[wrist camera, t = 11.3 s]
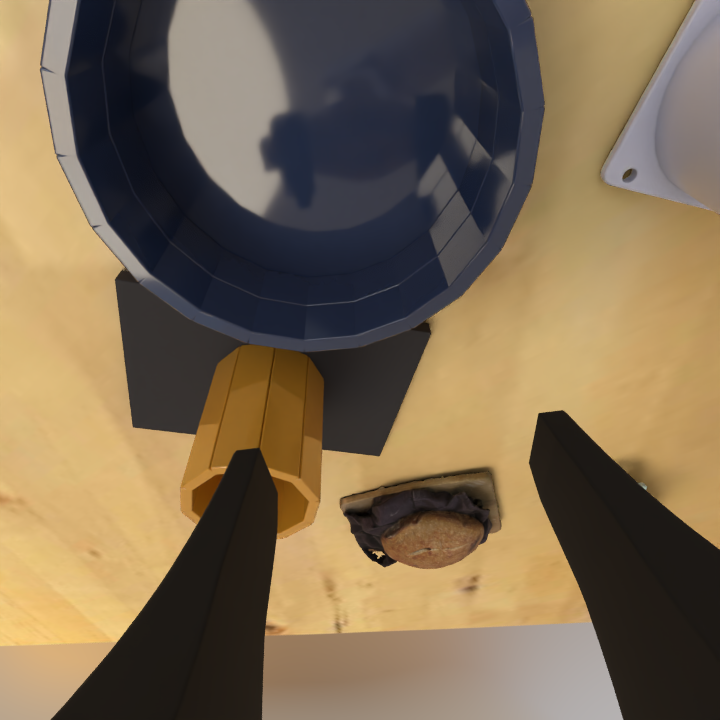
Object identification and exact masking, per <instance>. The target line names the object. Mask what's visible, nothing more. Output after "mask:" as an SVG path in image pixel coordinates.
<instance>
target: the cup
mask: <svg viewBox="0 0 720 720" xmlns="http://www.w3.org/2000/svg"><path fill="white" fill-rule="evenodd" d="M323 398H324V379H323V377H322V376H321V374H320V373H319V371H318V369H317V368H316V366H315V365H314V363H313V362H312V360H311V359H310V357H308V356H307V355H305V354H303V353H300V352H298V351H291V350H285V349H278V348H272V347H265V346H259V345H252V344H251V345H242V346H241V347H240V346H239V347H238V348H236V349H235V350H234V351H233V352H231V353H230V354H229V355H228V356H226V357H225V358H224V359H223V360H221V361H220V362H219V363H218V364H217V366H216V369H215V373H214V376H213V379H212V383H211V386H210V389H209V393H208V396H207V400H206V403H205V406H204V410H203V413H202V416H201V420H200V423H199V426H198V430H197V433H196V436H195V440H194V443H193V446H192V450H191V453H190V457H189V460H188V463H187V467H186V470H185V473H184V477H183V480H182V483H181V487H180V501H181V511H182V513H183V514H184V515H185V516H187V517H188V518H189V519H190V520H192V521H193V522H194V523H196V524H198V522H199V520H200V518H201V517H202V515H203V513H204V511H205V509H206V508H207V506H208V504H209V502H210V500H211V498H212V496H213V494H214V492H215V491H216V489H217V487H218V485H219V483H220V481H221V479H222V477H223V475H224V473H225V471H226V469H227V466H228V464H229V462H230V460H231V458H232V456H233V454H234V453H235V452H236V450H243V449H252V448H260V450H261V452H262V455H263V457H264V460H265V462H266V465H267V467H268V469H269V472H270V474H271V477H272V479H273V482H274V484H275V487H276V489H277V492H278V527H277V539H283V537H284V538H286V537H288V536H290V535H292V534H294V533H296V532H298V531H300V530H302V529H304V528H306V527H308V526H310V525H312V523H313V522H314V520H315V517H316V513H317V510H318V507H319V504H320V496H321V463H322V431H323Z"/></svg>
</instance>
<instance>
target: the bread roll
mask: <svg viewBox="0 0 720 720" xmlns="http://www.w3.org/2000/svg"><path fill="white" fill-rule="evenodd" d="M340 508H341V510H342V511H343V514H344V516H346V517H347V519H348V521H349V522H350V525H351V533H352V534H354V535H355V538H356V541H357V542H358V544H359V546H360V547H361V548H362V550H363V551H364V553H365V554H366V555H367V556H368V557H369V558H370V559H371V560H372V561H374V562H375V561H376V562H377V563H378V564H380V565H382V566H383V567H387V566H390V565H392V564H394V563H396V562H397V561H399V562H401V563H404V564H406V565H409V566H411V567H416V568H422V569H436V568H441V567H445V566H448V565H451V564H454V563H456V562H458V561H461V560H462V559H463V558H465V557H466V556H468V555H469V554H470V553H472V552H473V551H474V550H475V549H476V548H477V547H478V545H480V544H482V543H484V542H485V541H486V540H487V536H488V534H489V533H495V532H498V531H499V530H500V529H501V520H500V518H499V511H498V505H497V502H496V498H495V491H494V487H493V482H492V477H491V474H490V473H489V471H488V472H486V473H484V472H482V473H479V472H478V474H476V473H474V474H472V473H468V475H466V474H460V475H455V476H454V477H452V476H451V475H450V476H449V477H446V478H443V475H442V477H441V479H440V478H435V479H433V478H431V479H426V480H424V482H423V481H417V482H416V481H415V480H414V482H410V483H406V484H400V485H398V486H392V487H389V488H384V487H383V486H382V487H380V488H379V490H376V491H369V492H367V493H365V494H357V495H353V494H352V496H350V497H346V498H342V499H340ZM374 551H381V552H383V553H384V554H385V555H382V557H380V558H379V559H377V558H376V557H378V556H377V555H376V554H375V553H374V554H372V553H373V552H374Z"/></svg>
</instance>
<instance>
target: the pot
mask: <svg viewBox="0 0 720 720" xmlns="http://www.w3.org/2000/svg"><path fill="white" fill-rule="evenodd" d="M40 65H41V68H40V72H41V78H42V83H43V89H44V94H45V100H46V105H47V111H48V117H49V122H50V128H51V133H52V139H53V144H54V150H55V154H56V155H57V159H58V161H59V163H60V165H61V167H62V169H63V171H64V173H65V175H66V177H67V179H68V182H69V184H70V186H71V188H72V190H73V192H74V194H75V196H76V198H77V200H78V202H79V204H80V206H81V208H82V210H83V212H84V214H85V216H86V218H87V220H88V222H89V224H90V226H91V227H92V229H93V230H94V231H95V233H96V234H97V235H98V236H99V237H100V238H101V240H102V241H103V242H104V243H105V244H106V245H107V247H108V248H109V249H110V250H111V251H112V252H113V254H114V255H115V256H116V257H117V258H118V259H119V261H120V262H121V263H122V264H123V265H124V266H125V268H126V269H127V270H128V271H129V272H130V273H131V275H132V276H133V277H134V278H135V279H136V280H137V281H138V282H139V283H140V284H141V285H142V286H144V287H145V288H146V289H148V290H149V291H151V292H152V293H153V294H155V295H156V296H158V297H159V298H160V299H162V300H163V301H164V302H166V303H167V304H169V305H170V306H171V307H173V308H174V309H176V310H177V311H178V312H180V313H181V314H183V315H184V316H185V317H187V318H188V319H190V320H193V321H194V322H196V323H198V324H201V325H203V326H205V327H208V328H210V329H213V330H215V331H218V332H220V333H223V334H225V335H227V336H230V337H232V338H235V339H237V340H240V341H242V342H245V343H249V344H252V345H259V346H265V347H272V348H278V349H285V350H291V351H298V352H304V351H305V352H316V351H327V350H339V349H350V348H358V347H363V346H366V345H369V344H371V343H374V342H377V341H380V340H383V339H386V338H389V337H391V336H394V335H397V334H400V333H403V332H406V331H409V330H411V329H412V328H415V327H416V326H418V325H419V324H421V323H422V322H424V321H425V320H427V319H428V318H430V317H431V316H433V315H434V314H436V313H437V312H439V311H440V310H442V309H443V308H445V307H446V306H448V305H449V304H451V303H452V302H454V301H455V300H457V299H458V298H459V297H460V296H462V295H463V294H464V293H465V292H466V290H467V289H468V288H469V287H470V286H471V285H472V283H473V282H474V281H475V280H476V279H477V278H478V277H479V275H480V274H481V273H482V272H483V271H484V270H485V268H486V267H487V266H488V265H489V264H490V263H491V262H492V260H493V259H494V258H495V257H496V256H497V255H498V254H499V252H500V251H501V250H502V249H501V248H503V246H504V244H505V242H506V240H507V238H508V236H509V234H510V231H511V229H512V227H513V225H514V223H515V221H516V219H517V217H518V215H519V212H520V210H521V208H522V206H523V204H524V202H525V200H526V198H527V196H528V193H529V191H530V189H531V186H532V183H533V178H534V172H535V166H536V159H537V153H538V147H539V141H540V135H541V128H542V122H543V116H544V110H545V108H544V105H545V101H544V93H543V86H542V79H541V71H540V64H539V57H538V49H537V42H536V35H535V27H534V20H533V17H532V16H531V10H530V8H529V6H528V4H527V2H526V0H49V6H48V13H47V20H46V27H45V34H44V41H43V48H42V55H41V62H40Z"/></svg>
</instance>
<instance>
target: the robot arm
mask: <svg viewBox="0 0 720 720" xmlns="http://www.w3.org/2000/svg"><path fill="white" fill-rule="evenodd" d="M629 169H632V172H631V174H630V175H629V176H628V177H627V178H625V179H622V177H623V174H624V173H625V172H626V171H627V170H629ZM601 178H602V180H603V181H604V182H605V183H607V184H609V185H611V186H615V187H619V188H623V189H627V190H631V191H635V192H639V193H643V194H647V195H651V196H655V197H659V198H663V199H667V200H671V201H675V202H679V203H683V204H687V205H691V206H695V207H699V208H703V209H707V210H711V211H714V212H715V213H717V214H718V215H720V0H695V1H694V3H693V5H692V7H691V8H690V10H689V12H688V14H687V16H686V17H685V19H684V21H683V23H682V25H681V26H680V28H679V30H678V32H677V34H676V35H675V37H674V39H673V41H672V43H671V44H670V46H669V48H668V50H667V52H666V53H665V55H664V57H663V59H662V61H661V62H660V64H659V66H658V68H657V69H656V71H655V73H654V75H653V77H652V78H651V80H650V82H649V84H648V86H647V87H646V89H645V91H644V93H643V95H642V96H641V98H640V100H639V102H638V104H637V105H636V107H635V109H634V111H633V113H632V114H631V116H630V118H629V120H628V122H627V123H626V125H625V127H624V129H623V131H622V132H621V134H620V136H619V138H618V140H617V141H616V143H615V145H614V147H613V149H612V150H611V152H610V154H609V156H608V158H607V159H606V161H605V163H604V165H603V167H602V169H601ZM529 464H530V468H531V471H532V474H533V478H534V481H535V484H536V487H537V490H538V494H539V497H540V500H541V502H542V504H543V507H544V509H545V511H546V514H547V516H548V518H549V520H550V523H551V525H552V527H553V529H554V532H555V534H556V536H557V538H558V540H559V543H560V545H561V547H562V549H563V552H564V554H565V556H566V558H567V560H568V563H569V565H570V567H571V569H572V571H573V574H574V576H575V578H576V580H577V583H578V585H579V587H580V590H581V592H582V595H583V597H584V600H585V602H586V605H587V608H588V611H589V614H590V617H591V620H592V623H593V626H594V629H595V631H596V634H597V637H598V640H599V643H600V646H601V649H602V652H603V656H604V658H605V662H606V664H607V668H608V671H609V674H610V677H611V680H612V683H613V686H614V690H615V693H616V696H617V700H618V703H619V706H620V710H621V713H622V716H623V719H624V720H720V549H718V548H717V547H715V546H714V545H713V544H711V543H710V542H709V541H708V540H706V539H705V538H704V537H702V536H701V535H700V534H698V533H697V532H696V531H694V530H693V529H692V528H691V527H689V526H688V525H687V524H685V523H684V522H683V521H682V520H681V519H679V518H678V517H677V516H676V515H674V514H673V513H672V512H671V511H670V510H668V509H667V508H666V507H665V506H664V505H662V504H661V503H660V502H659V501H658V500H657V499H655V498H654V497H653V496H652V495H651V494H650V493H649V492H647V491H646V490H645V489H644V488H643V487H642V486H641V485H639V484H638V483H637V482H636V481H635V480H634V479H633V478H632V477H631V476H630V475H629V474H628V473H626V472H625V471H624V470H623V469H622V468H621V467H620V466H619V465H618V464H617V463H616V462H615V461H614V460H613V459H612V458H611V457H609V456H608V455H607V454H606V453H605V452H604V451H603V450H602V449H601V448H600V447H599V446H598V445H597V444H596V443H595V442H594V441H593V440H592V439H591V438H590V437H589V436H588V435H587V434H586V433H585V432H584V431H583V430H582V429H581V428H580V427H579V426H578V425H577V423H576V422H575V421H574V420H573V419H572V418H571V417H570V416H569V415H568V414H567V413H566V412H564V411H563V410H562V411H553V412H545V413H539V414H538V419H537V425H536V430H535V435H534V440H533V445H532V450H531V455H530V460H529ZM277 527H278V492H277V489H276V487H275V484H274V482H273V479H272V477H271V474H270V472H269V469H268V467H267V465H266V462H265V460H264V457H263V455H262V452H261V450H260V448H252V449H243V450H236V452H235V453H234V454H233V456H232V458H231V460H230V462H229V464H228V466H227V469H226V471H225V473H224V475H223V477H222V479H221V481H220V483H219V485H218V487H217V489H216V491H215V492H214V494H213V496H212V498H211V500H210V502H209V504H208V506H207V508H206V509H205V511H204V513H203V515H202V517H201V518H200V520H199V522H198V524H197V526H196V527H195V529H194V531H193V533H192V534H191V536H190V538H189V539H188V541H187V543H186V544H185V546H184V548H183V549H182V551H181V552H180V554H179V556H178V557H177V559H176V561H175V562H174V564H173V565H172V567H171V569H170V570H169V572H168V573H167V575H166V576H165V578H164V579H163V581H162V582H161V584H160V585H159V587H158V588H157V590H156V591H155V592H154V594H153V595H152V597H151V598H150V599H149V601H148V602H147V604H146V605H145V606H144V608H143V609H142V611H141V612H140V613H139V615H138V616H137V617H136V619H135V620H134V621H133V622H132V624H131V625H130V626H129V628H128V629H127V630H126V632H125V633H124V634H123V636H122V637H121V638H120V640H119V641H118V642H117V643H116V645H115V646H114V647H113V648H112V650H111V651H110V652H109V653H108V655H107V656H106V657H105V658H104V659H103V661H102V662H101V663H100V664H99V665H98V667H97V668H96V669H95V670H94V671H93V672H92V674H91V675H90V676H89V677H88V678H87V679H86V680H85V682H84V683H83V684H82V685H81V686H80V687H79V688H78V690H77V691H76V692H75V693H74V694H73V696H72V697H71V698H70V699H69V700H68V701H67V702H66V704H65V705H64V706H63V707H62V708H61V709H60V710H59V711H58V712H57V713H56V715H55V716H54V717H53V718H52V719H51V720H262V692H263V661H264V637H265V626H266V616H267V608H268V601H269V593H270V585H271V578H272V570H273V563H274V555H275V547H276V539H277Z"/></svg>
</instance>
